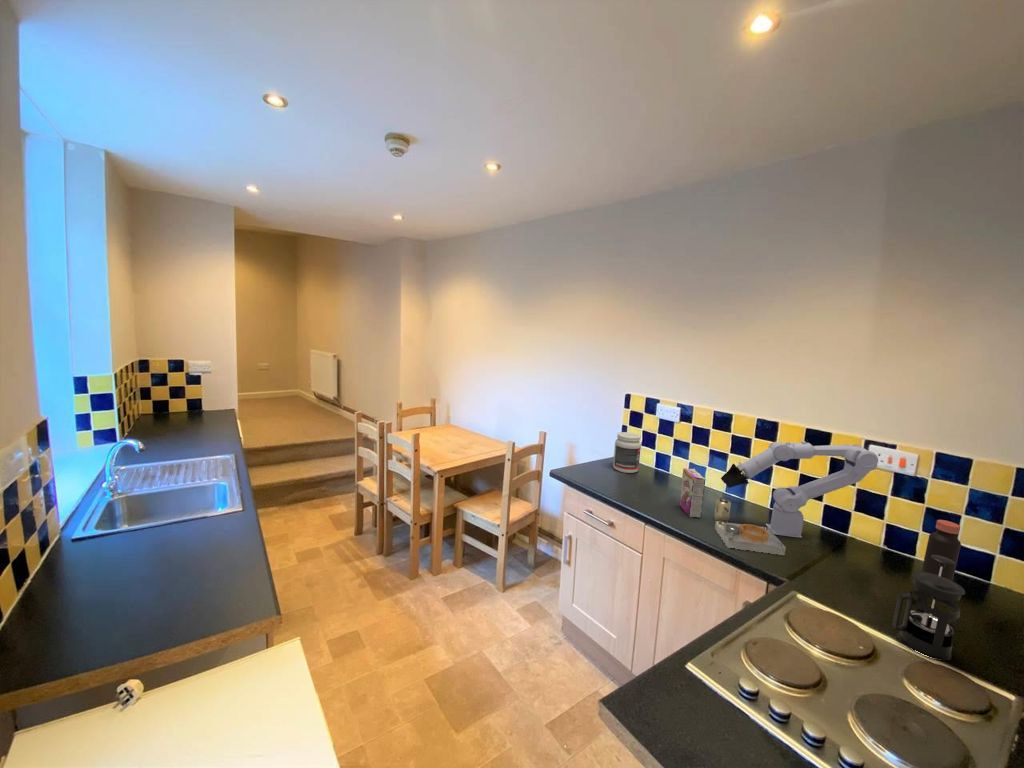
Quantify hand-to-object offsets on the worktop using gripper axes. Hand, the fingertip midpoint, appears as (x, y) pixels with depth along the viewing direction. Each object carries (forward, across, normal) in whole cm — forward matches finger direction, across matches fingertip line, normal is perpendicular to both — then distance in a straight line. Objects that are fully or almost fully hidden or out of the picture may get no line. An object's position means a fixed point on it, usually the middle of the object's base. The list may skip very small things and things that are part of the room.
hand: (724, 483), depth 163 cm
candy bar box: (+18, -7, +1) cm, 20 cm away
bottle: (-32, -15, +52) cm, 63 cm away
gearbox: (+6, 0, +21) cm, 22 cm away
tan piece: (+10, -8, +9) cm, 16 cm away
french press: (-15, +20, +62) cm, 67 cm away
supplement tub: (+37, -28, -39) cm, 61 cm away
